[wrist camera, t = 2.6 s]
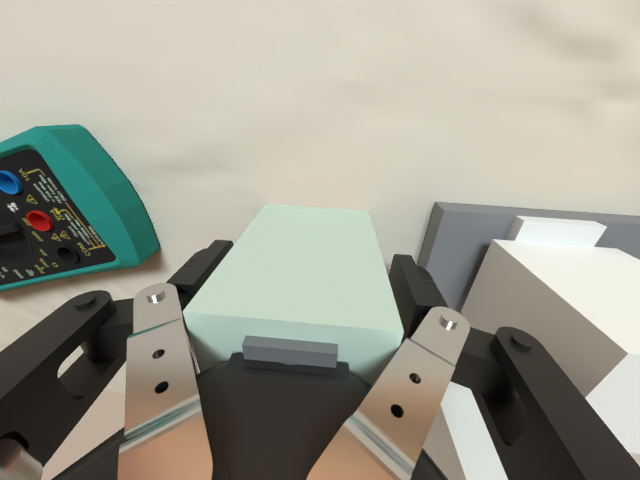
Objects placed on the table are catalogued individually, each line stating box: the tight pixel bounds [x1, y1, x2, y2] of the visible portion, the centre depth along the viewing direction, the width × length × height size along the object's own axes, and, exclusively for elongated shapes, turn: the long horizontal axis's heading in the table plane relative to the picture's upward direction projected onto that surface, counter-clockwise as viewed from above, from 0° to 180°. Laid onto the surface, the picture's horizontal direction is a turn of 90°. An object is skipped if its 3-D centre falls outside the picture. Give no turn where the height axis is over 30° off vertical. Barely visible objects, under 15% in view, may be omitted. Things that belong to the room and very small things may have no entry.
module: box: [183, 203, 404, 387], centre depth 10 cm, size 6×4×8 cm
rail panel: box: [399, 202, 640, 480], centre depth 13 cm, size 10×17×8 cm, turn 177°
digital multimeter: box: [0, 125, 160, 292], centre depth 14 cm, size 7×15×3 cm, turn 104°
